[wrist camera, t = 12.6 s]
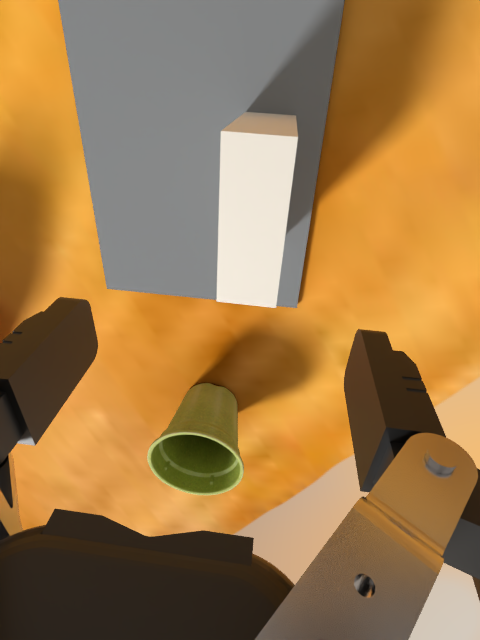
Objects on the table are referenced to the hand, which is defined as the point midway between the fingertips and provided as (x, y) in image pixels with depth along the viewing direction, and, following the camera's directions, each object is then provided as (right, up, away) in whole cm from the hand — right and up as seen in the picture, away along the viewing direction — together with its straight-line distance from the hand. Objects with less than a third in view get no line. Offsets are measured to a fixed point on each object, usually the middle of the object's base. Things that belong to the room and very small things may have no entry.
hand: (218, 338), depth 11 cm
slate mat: (-2, +12, +18) cm, 22 cm away
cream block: (+3, +11, +17) cm, 21 cm away
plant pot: (-3, -9, +32) cm, 33 cm away
